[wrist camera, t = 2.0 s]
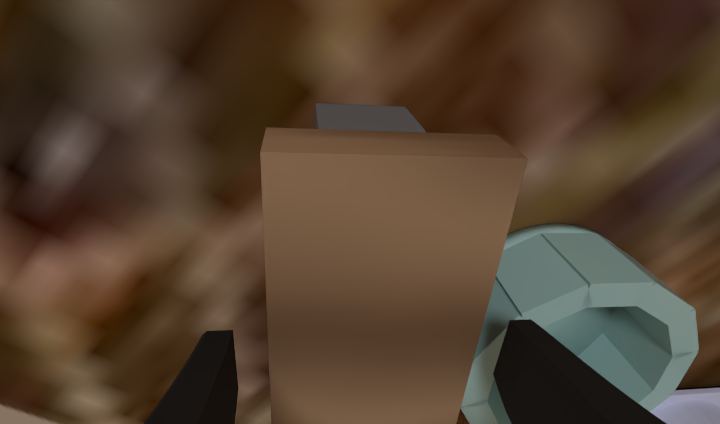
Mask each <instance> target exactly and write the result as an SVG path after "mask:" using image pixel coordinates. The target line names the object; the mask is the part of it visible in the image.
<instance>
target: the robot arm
mask: <svg viewBox="0 0 720 424" xmlns="http://www.w3.org/2000/svg"><path fill="white" fill-rule="evenodd" d="M493 375H494V379H495V382H496V385H497V388H498V391H499V394H500V397H501V399H502V402H503V405H504V408H505V410H506V413H507V415H508V417H509V419H510V421H511V424H720V387H719V388H703V389H687V390H675V391H674V393H671V396H670V397H668V398H667V399H666V400H665V401H663V402H662V403H661V404H659V405H658V406H657V407H656V408H654V409H653V410H652V411H650V412H649V411H648V410H647V409H645V408H644V407H642V406H641V405H640V404H638V403H637V402H636V401H634V400H633V399H631V398H630V397H629V396H627V395H626V394H625V393H623V392H622V391H621V390H619V389H618V388H617V387H615V386H614V385H613V384H611V383H610V382H609V381H608V380H606V379H605V378H604V377H602V376H601V375H600V374H599V373H597V372H596V371H595V370H594V369H592V368H591V367H590V366H589V365H587V364H586V363H585V362H584V361H582V360H581V359H580V358H579V357H577V356H576V355H575V354H574V353H573V352H571V351H570V350H569V349H568V348H566V347H565V346H564V345H563V344H561V343H560V342H559V341H558V340H557V339H555V338H554V337H553V336H552V335H550V334H549V333H548V332H547V331H545V330H544V329H543V328H542V327H540V326H539V325H538V324H536V323H535V322H534V321H532V320H531V319H528V320H510V321H509V324H508V327H507V330H506V334H505V337H504V340H503V343H502V347H501V350H500V353H499V356H498V360H497V363H496V366H495V369H494V373H493ZM237 395H238V381H237V371H236V360H235V349H234V338H233V330H226V331H207V332H205V333H204V334H203V335H202V337H201V338H200V340H199V342H198V344H197V346H196V347H195V349H194V351H193V352H192V354H191V356H190V357H189V359H188V360H187V362H186V364H185V365H184V367H183V368H182V370H181V371H180V373H179V374H178V376H177V378H176V379H175V381H174V382H173V383H172V385H171V386H170V388H169V389H168V391H167V392H166V393H165V395H164V396H163V398H162V399H161V401H160V402H159V403H158V405H157V406H156V408H155V409H154V411H153V412H152V413H151V415H150V416H149V417H148V419H147V420H146V421H145V422H144V424H234V423H235V414H236V404H237Z"/></svg>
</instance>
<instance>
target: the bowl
mask: <svg viewBox="0 0 720 424" xmlns="http://www.w3.org/2000/svg"><path fill="white" fill-rule="evenodd" d="M528 319H531V320H532V321H534V322H535V323H536V324H538V325H539V326H540V327H542V328H543V329H544V330H545V331H547V332H548V333H549V334H550V335H552V336H553V337H554V338H555V339H557V340H558V341H559V342H560V343H561V344H563V345H564V346H565V347H566V348H568V349H569V350H570V351H571V352H573V353H574V354H575V355H576V356H577V357H579V358H580V359H581V360H582V361H584V362H585V363H586V364H587V365H589V366H590V367H591V368H592V369H594V370H595V371H596V372H597V373H599V374H600V375H601V376H602V377H604V378H605V379H606V380H608V381H609V382H610V383H611V384H613V385H614V386H615V387H617V388H618V389H619V390H621V391H622V392H623V393H625V394H626V395H627V396H629V397H630V398H631V399H633V400H634V401H636V402H637V403H638V404H640V405H641V406H642V407H644V408H645V409H647V410H648V411H649V412H650V411H652V410H653V409H654V408H656V407H657V406H658V405H659V404H661V403H662V402H663V401H665V400H666V399H667V398H668V397H670V396H671V393H674V391H675V390H676V388H677V386H678V385H679V383H680V381H681V380H682V378H683V376H684V375H685V373H686V371H687V370H688V368H689V366H690V365H691V363H692V361H693V360H694V358H695V356H696V355H697V353H698V351H697V350H699V346H698V335H697V324H696V313H695V309H694V308H693V307H692V306H691V305H690V304H688V303H687V302H686V301H685V300H684V299H682V298H681V297H680V296H679V295H677V294H676V293H675V292H674V291H673V290H671V289H670V288H669V287H668V286H667V285H665V284H664V283H663V282H662V281H660V280H659V279H658V278H657V277H656V276H654V275H653V274H652V273H651V272H649V271H648V270H647V269H646V268H645V267H643V266H642V265H641V264H640V263H639V262H637V261H636V260H635V259H634V258H632V257H631V256H630V255H628V254H627V253H625V252H624V251H622V250H621V249H619V248H618V247H617V246H615V245H614V244H613V243H611V242H610V241H609V240H608V239H607V238H605V237H604V236H603V235H601V234H600V233H598V232H596V231H594V230H592V229H589V228H586V227H584V226H579V225H574V224H566V223H550V224H541V225H535V226H530V227H526V228H523V229H519V230H516V231H514V232H511V233H509V234H507V238H506V241H505V245H504V249H503V252H502V256H501V260H500V263H499V267H498V271H497V275H496V278H495V282H494V286H493V289H492V293H491V297H490V301H489V304H488V308H487V312H486V315H485V319H484V323H483V326H482V330H481V334H480V338H479V341H478V345H477V349H476V352H475V356H474V360H473V364H472V367H471V371H470V375H469V378H468V382H467V386H466V389H465V393H464V397H463V401H462V404H461V410H462V412H463V413H464V415H465V417H466V418H467V420H468V422H469V424H511V421H510V419H509V417H508V415H507V413H506V410H505V408H504V405H503V402H502V399H501V397H500V394H499V391H498V388H497V385H496V382H495V379H494V375H493V373H494V369H495V366H496V363H497V360H498V356H499V353H500V350H501V347H502V343H503V340H504V337H505V334H506V330H507V327H508V324H509V321H510V320H528Z"/></svg>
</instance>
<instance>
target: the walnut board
mask: <svg viewBox="0 0 720 424" xmlns="http://www.w3.org/2000/svg"><path fill="white" fill-rule="evenodd" d="M260 155H261V179H262V204H263V228H264V252H265V277H266V301H267V325H268V349H269V374H270V398H271V422H272V424H456V423H457V419H458V415H459V412H460V408H461V404H462V401H463V397H464V393H465V389H466V386H467V382H468V378H469V375H470V371H471V367H472V364H473V360H474V356H475V352H476V349H477V345H478V341H479V338H480V334H481V330H482V326H483V323H484V319H485V315H486V312H487V308H488V304H489V301H490V297H491V293H492V289H493V286H494V282H495V278H496V275H497V271H498V267H499V263H500V260H501V256H502V252H503V249H504V245H505V241H506V238H507V234H508V230H509V226H510V223H511V219H512V215H513V212H514V208H515V204H516V200H517V197H518V193H519V189H520V186H521V182H522V178H523V175H524V171H525V167H526V163H527V160H528V158H527V157H525V156H524V155H523V154H521V153H520V152H519V151H517V150H516V149H515V148H514V147H512V146H511V145H510V144H508V143H507V142H506V141H504V140H503V139H502V138H500V137H499V136H498V135H486V134H455V133H423V132H392V131H361V130H330V129H298V128H267V127H266V131H265V135H264V139H263V143H262V147H261V151H260Z"/></svg>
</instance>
